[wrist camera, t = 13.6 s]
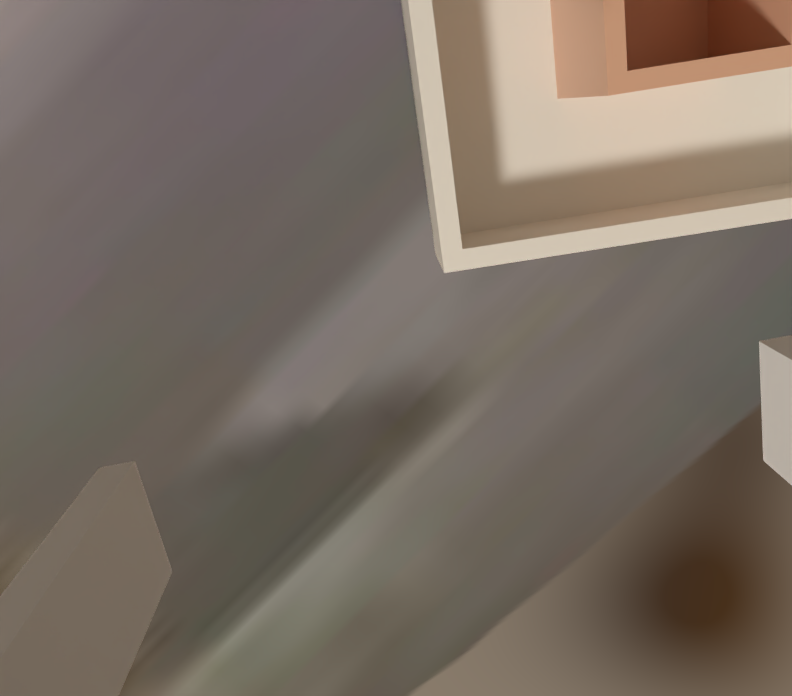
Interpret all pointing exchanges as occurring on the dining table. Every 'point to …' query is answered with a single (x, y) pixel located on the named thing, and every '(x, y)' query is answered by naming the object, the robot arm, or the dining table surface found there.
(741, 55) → the small crate
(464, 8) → the cream square tray
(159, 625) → the dining table surface
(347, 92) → the dining table surface
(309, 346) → the dining table surface
